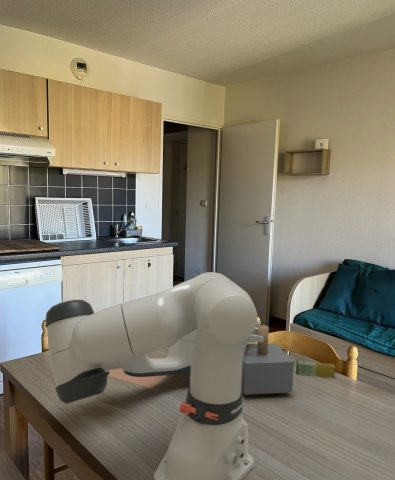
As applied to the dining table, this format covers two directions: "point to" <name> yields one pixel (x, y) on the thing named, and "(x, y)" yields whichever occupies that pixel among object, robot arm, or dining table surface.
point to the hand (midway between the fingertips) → (265, 337)
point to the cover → (266, 367)
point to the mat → (136, 378)
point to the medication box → (315, 369)
